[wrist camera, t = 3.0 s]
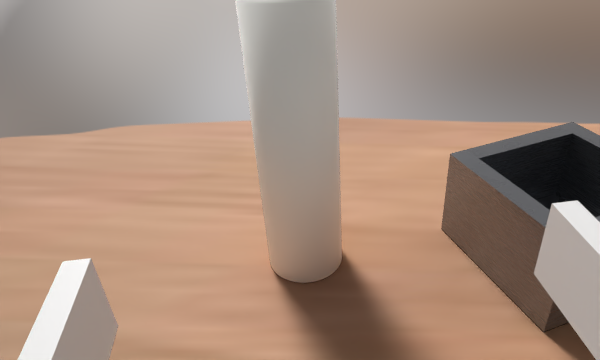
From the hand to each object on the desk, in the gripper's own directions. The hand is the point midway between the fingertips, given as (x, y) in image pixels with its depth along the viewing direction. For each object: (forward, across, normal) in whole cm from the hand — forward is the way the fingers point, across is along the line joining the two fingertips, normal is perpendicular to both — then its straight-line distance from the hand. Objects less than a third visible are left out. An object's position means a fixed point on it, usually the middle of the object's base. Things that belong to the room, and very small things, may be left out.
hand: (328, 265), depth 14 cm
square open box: (+8, +13, -8) cm, 17 cm away
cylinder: (+10, 0, -8) cm, 13 cm away
